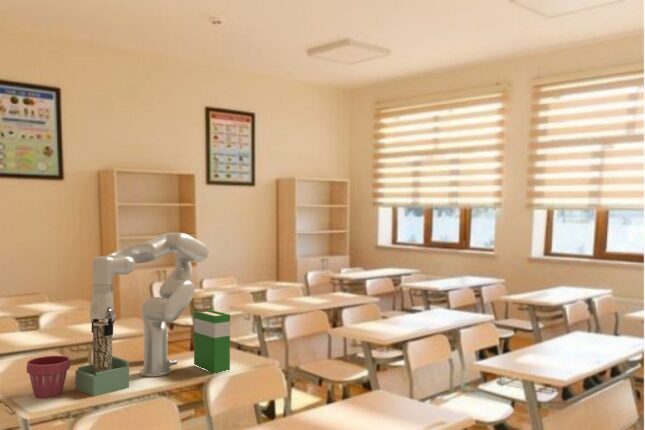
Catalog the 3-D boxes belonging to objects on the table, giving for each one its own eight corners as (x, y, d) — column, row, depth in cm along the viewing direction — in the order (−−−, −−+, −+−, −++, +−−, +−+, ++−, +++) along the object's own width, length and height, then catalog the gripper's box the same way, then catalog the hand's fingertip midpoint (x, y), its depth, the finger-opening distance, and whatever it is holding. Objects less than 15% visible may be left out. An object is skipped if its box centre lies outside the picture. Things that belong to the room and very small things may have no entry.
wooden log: (105, 391, 201) (105, 324, 201) (88, 390, 202) (89, 323, 203) (115, 386, 207) (116, 321, 208) (99, 385, 209) (100, 320, 209)
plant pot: (76, 394, 197) (76, 359, 197) (35, 404, 187) (36, 366, 187) (60, 386, 207) (60, 353, 207) (20, 395, 196) (20, 360, 197)
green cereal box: (194, 365, 238) (194, 311, 238) (208, 363, 243) (209, 309, 243) (214, 373, 225) (214, 316, 225) (229, 370, 229) (230, 314, 230)
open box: (110, 380, 215) (110, 355, 215) (129, 387, 206) (129, 361, 206) (75, 388, 204) (75, 362, 204) (93, 396, 195) (93, 368, 195)
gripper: (82, 288, 208) (81, 332, 208) (105, 291, 197) (104, 338, 197) (100, 286, 214) (100, 329, 214) (123, 289, 203) (123, 335, 202)
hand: (102, 333), depth 205 cm, fingers open, 9 cm apart
